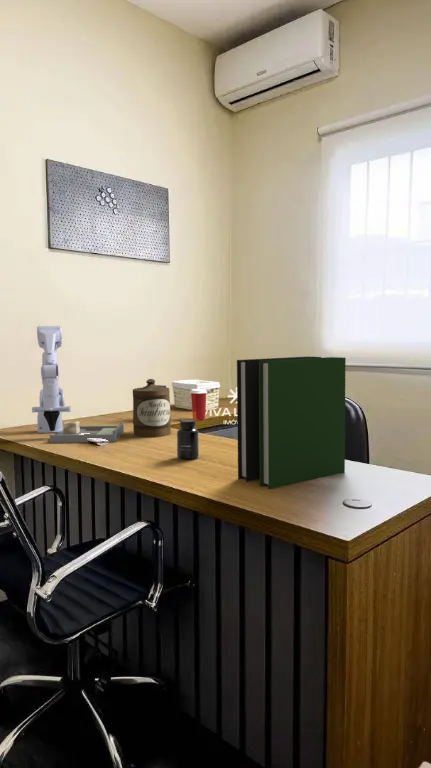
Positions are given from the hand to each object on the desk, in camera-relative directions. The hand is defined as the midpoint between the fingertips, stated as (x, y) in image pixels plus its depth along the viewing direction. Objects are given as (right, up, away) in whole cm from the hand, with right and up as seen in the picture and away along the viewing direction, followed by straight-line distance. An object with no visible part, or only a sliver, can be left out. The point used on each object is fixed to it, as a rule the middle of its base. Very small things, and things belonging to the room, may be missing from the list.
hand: (52, 430), depth 206 cm
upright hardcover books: (+84, -7, -60) cm, 103 cm away
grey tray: (+14, -3, 0) cm, 14 cm away
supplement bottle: (+54, -6, -37) cm, 66 cm away
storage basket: (+53, +5, +80) cm, 96 cm away
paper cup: (+55, +1, +41) cm, 69 cm away
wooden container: (+38, -2, +7) cm, 39 cm away
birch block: (+7, -1, 0) cm, 7 cm away
